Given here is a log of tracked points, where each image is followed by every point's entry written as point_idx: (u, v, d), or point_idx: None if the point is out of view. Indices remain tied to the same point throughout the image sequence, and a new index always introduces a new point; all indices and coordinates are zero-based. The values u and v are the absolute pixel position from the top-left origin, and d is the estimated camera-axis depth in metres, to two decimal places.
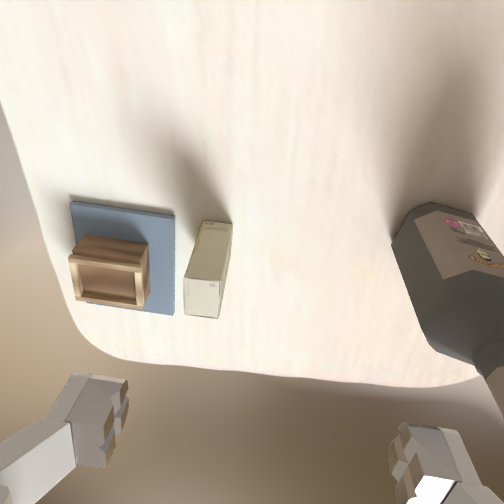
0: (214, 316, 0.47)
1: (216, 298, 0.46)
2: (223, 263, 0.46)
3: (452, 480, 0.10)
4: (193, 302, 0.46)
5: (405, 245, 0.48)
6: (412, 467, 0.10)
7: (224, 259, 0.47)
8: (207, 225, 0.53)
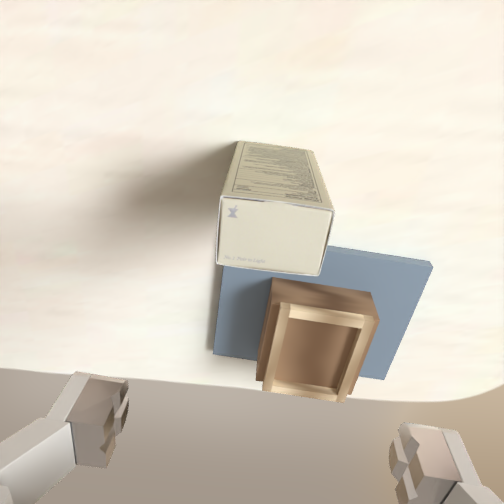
0: (327, 217, 0.21)
1: (272, 207, 0.21)
2: (226, 177, 0.23)
3: (452, 480, 0.10)
4: (283, 255, 0.22)
5: None
6: (412, 467, 0.10)
7: (228, 173, 0.24)
8: None
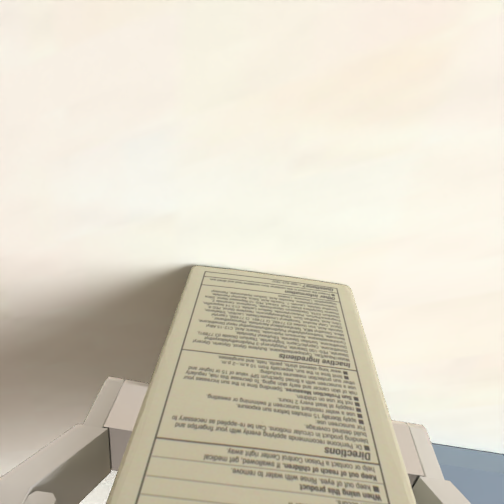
0: None
1: None
2: None
3: (415, 474, 0.10)
4: None
5: None
6: None
7: (116, 477, 0.08)
8: None
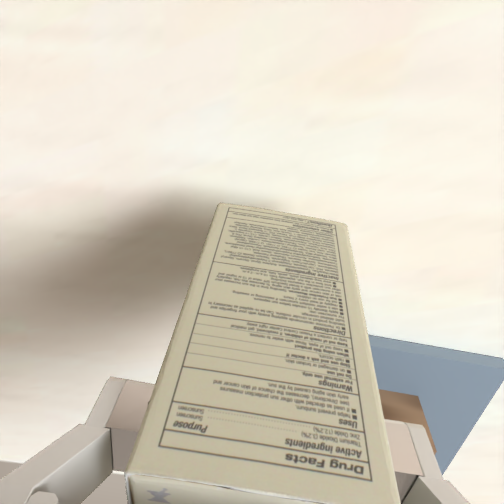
0: None
1: (252, 499, 0.08)
2: (165, 356, 0.11)
3: (413, 474, 0.10)
4: None
5: None
6: None
7: (173, 334, 0.12)
8: None
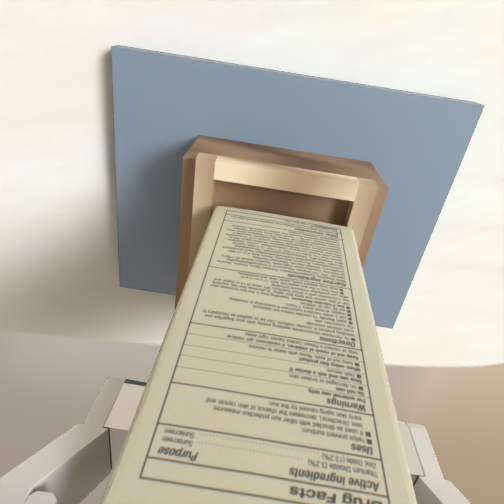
0: None
1: None
2: (152, 370, 0.10)
3: (414, 474, 0.10)
4: None
5: None
6: None
7: (162, 345, 0.10)
8: None
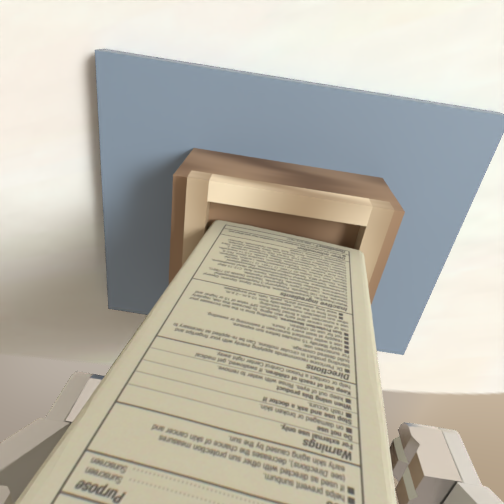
0: None
1: None
2: (99, 386, 0.08)
3: (452, 480, 0.10)
4: None
5: None
6: (412, 467, 0.10)
7: (118, 359, 0.09)
8: None
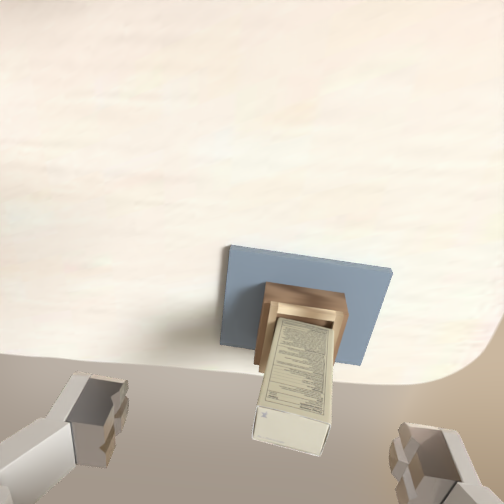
0: (325, 427, 0.31)
1: (290, 416, 0.32)
2: None
3: (452, 480, 0.10)
4: (296, 441, 0.33)
5: None
6: (412, 467, 0.10)
7: (265, 370, 0.35)
8: None
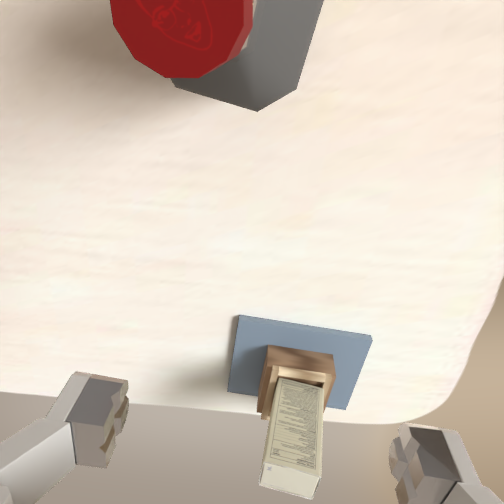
0: (317, 479, 0.41)
1: (289, 470, 0.41)
2: (268, 435, 0.44)
3: (452, 480, 0.10)
4: (293, 488, 0.42)
5: None
6: (412, 467, 0.10)
7: (269, 429, 0.44)
8: None
